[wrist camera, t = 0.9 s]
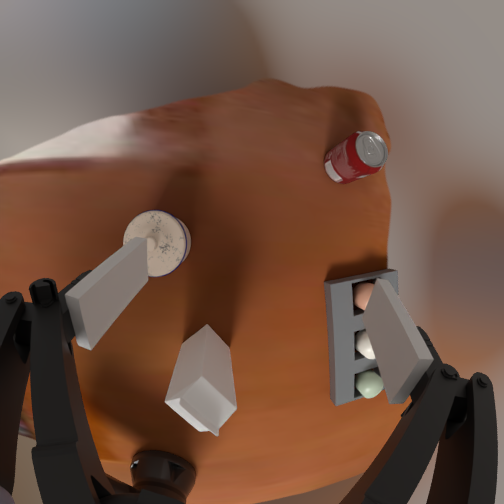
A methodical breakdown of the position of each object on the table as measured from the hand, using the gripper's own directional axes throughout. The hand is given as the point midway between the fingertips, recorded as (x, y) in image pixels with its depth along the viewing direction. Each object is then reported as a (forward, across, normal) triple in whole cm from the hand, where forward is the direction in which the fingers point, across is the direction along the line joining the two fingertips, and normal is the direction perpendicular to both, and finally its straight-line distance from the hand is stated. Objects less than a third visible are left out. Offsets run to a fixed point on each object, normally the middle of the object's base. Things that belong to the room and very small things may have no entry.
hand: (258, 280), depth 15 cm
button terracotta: (+30, -19, +16) cm, 39 cm away
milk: (+22, +7, +27) cm, 36 cm away
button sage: (+24, -24, +32) cm, 47 cm away
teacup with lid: (+26, +17, +12) cm, 34 cm away
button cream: (+27, -22, +24) cm, 42 cm away
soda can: (+38, -11, -5) cm, 40 cm away
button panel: (+28, -22, +25) cm, 43 cm away
